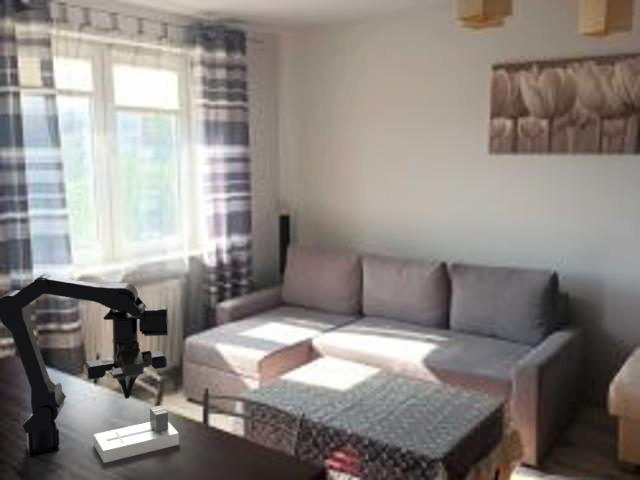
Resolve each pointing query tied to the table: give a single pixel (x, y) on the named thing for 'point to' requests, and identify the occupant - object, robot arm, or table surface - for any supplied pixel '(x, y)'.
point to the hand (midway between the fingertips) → (126, 398)
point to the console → (133, 441)
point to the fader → (159, 418)
